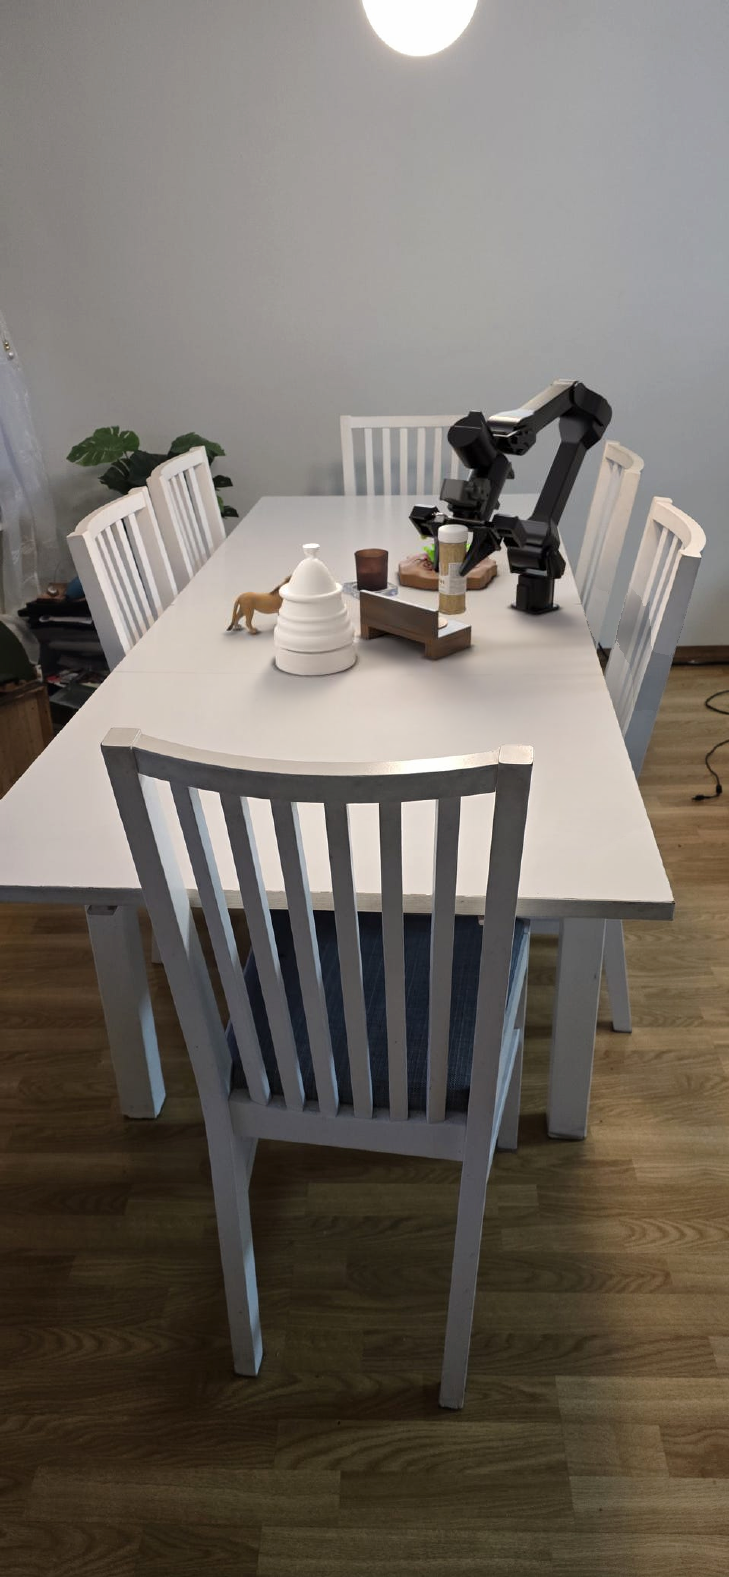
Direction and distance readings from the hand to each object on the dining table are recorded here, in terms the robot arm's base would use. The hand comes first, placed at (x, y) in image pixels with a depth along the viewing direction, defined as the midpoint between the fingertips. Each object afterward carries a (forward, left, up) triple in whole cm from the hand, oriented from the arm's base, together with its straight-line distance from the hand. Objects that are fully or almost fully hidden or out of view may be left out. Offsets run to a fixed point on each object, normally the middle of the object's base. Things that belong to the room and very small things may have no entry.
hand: (448, 573), depth 154 cm
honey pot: (+18, -11, -13) cm, 25 cm away
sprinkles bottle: (-1, 0, -7) cm, 7 cm away
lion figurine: (+15, -30, -13) cm, 36 cm away
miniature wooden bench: (0, -8, -13) cm, 16 cm away
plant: (-29, -34, -13) cm, 47 cm away
